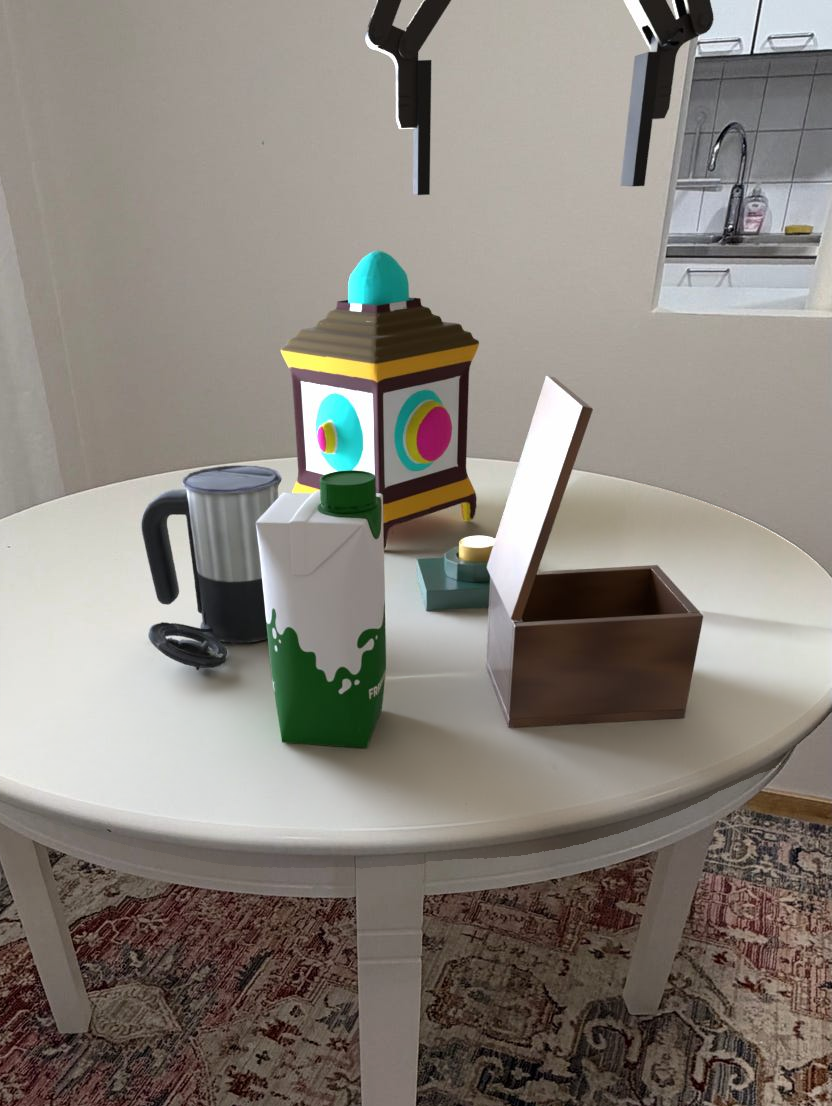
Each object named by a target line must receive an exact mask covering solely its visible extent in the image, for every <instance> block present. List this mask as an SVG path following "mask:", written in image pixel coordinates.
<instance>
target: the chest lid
mask: <svg viewBox="0 0 832 1106" xmlns="http://www.w3.org/2000/svg"><path fill="white" fill-rule="evenodd" d="M593 411H594V409H593V407H591V406H590V405H589V404H588V403H587V402H585V401H584V400H583V399H582V398H581V397H579V396H578V395H577V394H576V393H575V392H573V391H572V390H571V389H570V388H569V387H567V386H566V385H565V384H564V383H562V382H561V381H560V380H559V379H558V378H556V377H555V376H551V375H545V378H544V381H543V384H542V387H541V391H540V394H539V398H538V401H537V404H536V407H535V410H534V413H533V415H532V420H531V423H530V426H529V429H528V433H527V435H526V439H525V443H524V445H523V449H522V453H521V455H520V459H519V461H518V465H517V468H516V470H515V474H514V478H513V481H512V483H511V488H510V490H509V493H508V496H507V500H506V503H505V507H504V510H503V513H502V517H501V519H500V523H499V525H498V528H497V529H498V530H497V532H496V535H495V542H494V545H493V548H492V551H491V554H490V558H489V561H488V564H487V570H488V572H489V574H490V576H491V578H492V581H493V583H494V585H495V587H496V589H497V591H498V593H499V595H500V598H501V600H502V602H503V604H504V606H505V608H506V610H507V612H508V615H509V617H510V619H511V620H515V621H521V618H522V615H523V612H524V609H525V606H526V603H527V600H528V597H529V594H530V591H531V589H532V586H533V583H534V580H535V577H536V574H537V572H539V569H540V565H541V562H542V559H543V557H544V553H545V551H546V548H547V544H548V542H549V539H550V536H551V533H552V530H553V527H554V525H555V522H556V519H557V516H558V513H559V509H560V507H561V504H562V501H563V498H564V495H565V492H566V489H567V486H568V483H569V481H570V477H571V475H572V472H573V469H574V466H575V463H576V460H577V458H578V454H579V451H580V449H581V445H582V442H583V439H584V438H585V434H586V431H587V428H588V425H589V422H590V420H591V417H592V414H593Z"/></svg>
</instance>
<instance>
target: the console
mask: <svg viewBox="0 0 832 1106" xmlns="http://www.w3.org/2000/svg"><path fill="white" fill-rule="evenodd" d="M443 555H444V556H441V557H440V556H439V557H438V556H437V557H421V558H416V580H417V583H418V588H419V591H420V594H421V598H422V601H423V605H424V608H425V611H426V612H434V611H435V612H437V611H450V610H451V611H454V610H471V609H489V592H490V574H489V572H488V570H487V564H488V561H487V562H471V561H464V560H462V559H459V545H457V546H454V547H451V548H449V549H448V550H447V551H446V552H444V554H443Z"/></svg>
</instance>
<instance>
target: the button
mask: <svg viewBox="0 0 832 1106" xmlns="http://www.w3.org/2000/svg"><path fill="white" fill-rule="evenodd" d="M495 538H496V537H495ZM495 538H494V537H492V536H487V535H470V536H465V537H463V538H461V539H460V540H459V542H458V546H459V559H462V560H464V561H471V562H487V561H489V558H490V554H491V551H492V548H493V545H494V542H495Z"/></svg>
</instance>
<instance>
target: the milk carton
mask: <svg viewBox="0 0 832 1106" xmlns="http://www.w3.org/2000/svg"><path fill="white" fill-rule="evenodd" d="M256 528H257V537H258V545H259V553H260V561H261V572H262V582H263V593H264V603H265V613H266V624H267V634H268V639H267V642H268V643H267V644H268V654H269V662H270V663H269V664H270V672H271V674H270V675H271V681H272V688H273V695H274V702H275V706H276V707H275V708H276V713H277V719H278V727H279V733H280V739H281V743H283V744H284V743H286V744H287V743H288V744H301V745H316V746H329V747H342V748H358V749H367V748H368V746H369V744H370V741H371V738H372V735H373V733H374V730H375V727H376V725H377V723H378V721H379V720H378V719H379V717H380V715H381V712H382V709H383V702H384V693H385V684H386V683H385V681H386V671H387V638H386V637H387V635H386V633H387V632H386V629H387V628H386V585H385V584H386V581H385V578H386V577H385V550H384V538H383V495H382V494H379V493H376V477H375V475H374V474H372V473H370V472H366V471H358V470H345V471H336V472H331V473H328V474H325V475H323V476H322V477H321V478H320V491H315V492H314V493H292V492H282V493H281V494H280V495H278V499H277V500H276V501H275V502H274V503H273V504H272V505H271V506H270V507H269V508H268V510H267V511H266V512H265V513H264V514H263V515H262V516H261V517H260V518H259V519H258V520H257V522H256Z"/></svg>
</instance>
